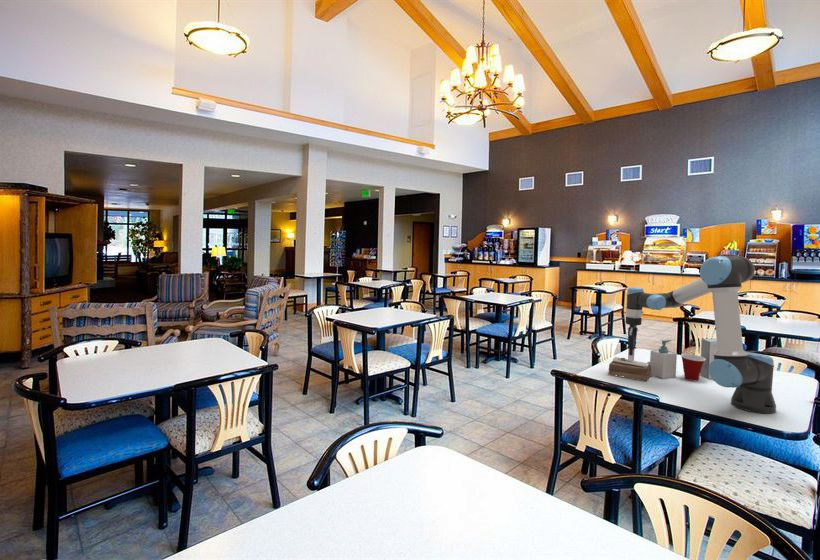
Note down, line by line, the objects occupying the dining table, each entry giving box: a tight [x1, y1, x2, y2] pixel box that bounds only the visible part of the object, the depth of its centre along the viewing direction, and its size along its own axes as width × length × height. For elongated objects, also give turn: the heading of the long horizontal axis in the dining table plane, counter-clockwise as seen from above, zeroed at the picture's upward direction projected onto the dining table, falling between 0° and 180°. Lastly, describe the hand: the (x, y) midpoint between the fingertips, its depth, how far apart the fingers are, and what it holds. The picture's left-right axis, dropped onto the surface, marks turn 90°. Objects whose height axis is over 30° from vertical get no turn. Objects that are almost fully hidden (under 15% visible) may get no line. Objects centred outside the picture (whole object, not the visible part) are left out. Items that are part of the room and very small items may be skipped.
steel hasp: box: [612, 356, 649, 367], centre depth 230 cm, size 6×17×1 cm, turn 53°
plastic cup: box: [680, 353, 706, 381], centre depth 223 cm, size 11×11×12 cm
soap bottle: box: [649, 339, 678, 379], centre depth 229 cm, size 9×9×19 cm
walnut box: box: [608, 357, 652, 382], centre depth 230 cm, size 12×18×9 cm
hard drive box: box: [699, 338, 718, 380], centre depth 226 cm, size 16×8×20 cm, turn 84°
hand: (630, 360), depth 230 cm, fingers closed
